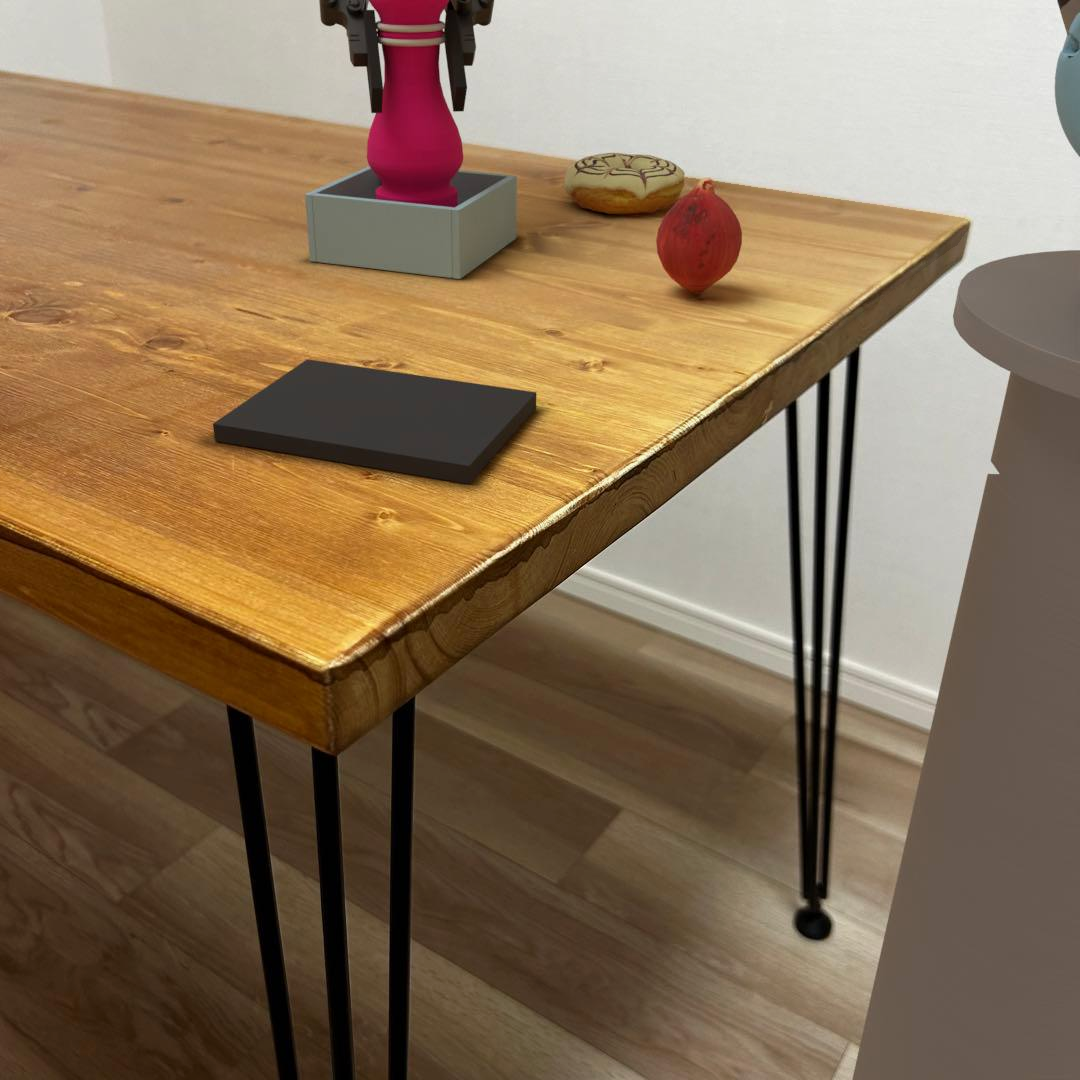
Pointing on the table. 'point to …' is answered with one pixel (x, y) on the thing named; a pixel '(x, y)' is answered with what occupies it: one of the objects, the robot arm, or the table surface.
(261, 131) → the table surface
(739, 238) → the onion
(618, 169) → the decorated donut
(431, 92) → the pepper mill
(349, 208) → the crate
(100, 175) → the table surface
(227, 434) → the mat
